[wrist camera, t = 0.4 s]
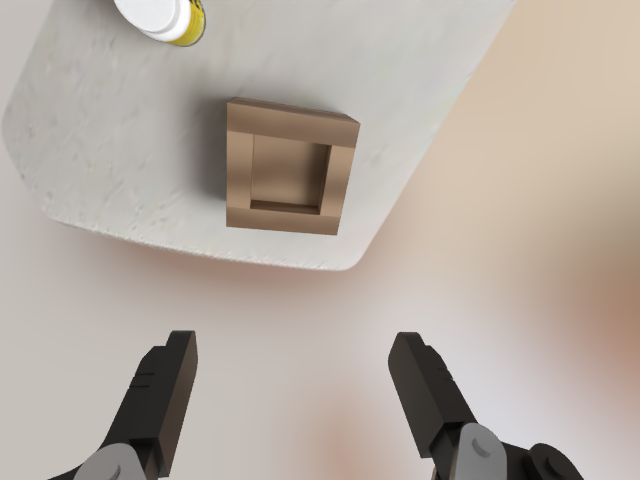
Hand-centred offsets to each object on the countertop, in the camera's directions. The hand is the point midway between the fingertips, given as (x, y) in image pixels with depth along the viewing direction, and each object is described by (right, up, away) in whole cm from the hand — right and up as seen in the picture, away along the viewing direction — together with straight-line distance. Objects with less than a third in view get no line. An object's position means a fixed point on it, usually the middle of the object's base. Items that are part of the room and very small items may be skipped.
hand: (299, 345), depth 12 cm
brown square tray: (-3, +14, +23) cm, 27 cm away
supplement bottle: (-12, +25, +15) cm, 31 cm away
